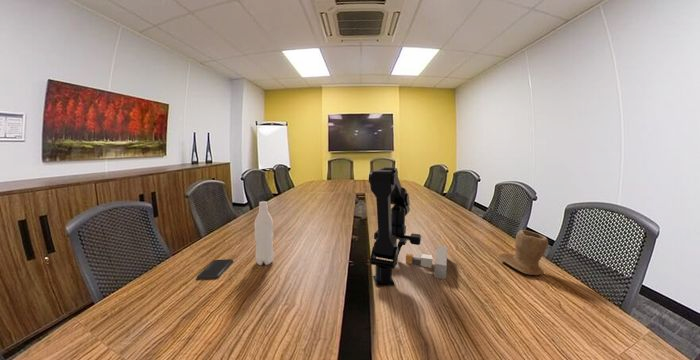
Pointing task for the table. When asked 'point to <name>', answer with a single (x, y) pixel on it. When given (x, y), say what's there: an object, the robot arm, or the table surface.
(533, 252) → the brown hat
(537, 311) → the table surface
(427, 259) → the plug
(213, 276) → the phone
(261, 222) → the water bottle
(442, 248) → the housing
